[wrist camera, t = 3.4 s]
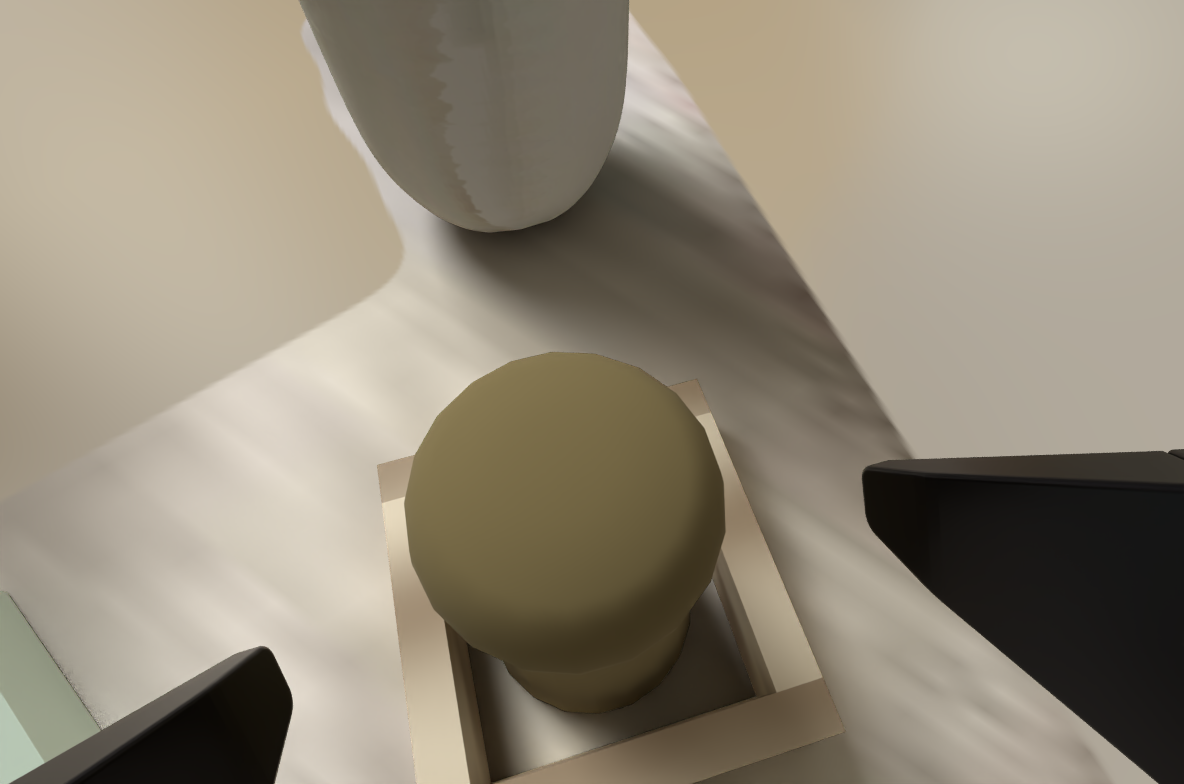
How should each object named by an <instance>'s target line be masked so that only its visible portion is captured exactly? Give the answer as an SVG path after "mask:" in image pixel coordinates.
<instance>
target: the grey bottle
mask: <svg viewBox="0 0 1184 784" xmlns="http://www.w3.org/2000/svg"><path fill="white" fill-rule="evenodd" d="M299 2H300V4H301V7H302V9H303V11H304V13H305V16H306V18H307V20H308V22H309V24H310V27H311V29H312V31H313V34H314V36H315V38H316V40H317V43H318V45H319V47H320V49H321V52H322V54H323V56H324V58H325V61H326V63H327V65H328V67H329V70H330V72H331V74H332V76H333V79H334V81H335V83H336V85H337V87H338V89H339V92H340V94H341V96H342V98H343V100H344V102H345V105H346V107H347V109H348V111H349V113H350V115H351V117H352V119H353V121H354V123H355V124H356V126H357V128H358V130H359V132H360V134H361V136H362V137H363V139H364V141H365V143H366V144H367V146H368V148H369V149H370V151H371V152H372V154H373V155H374V157H375V158H376V160H377V161H378V162H379V164H380V165H381V166H382V168H383V169H384V170H385V171H386V173H387V174H388V175H389V176H390V177H391V178H392V179H393V180H394V182H395V183H396V184H397V185H398V186H399V187H401V188H402V189H403V190H404V191H405V192H406V193H407V194H408V195H409V196H411V197H412V198H413V199H414V200H415V201H416V202H418V203H419V204H420V205H422V206H423V207H424V208H426V209H427V210H429V211H430V212H432V213H433V214H434V215H436V216H438V217H439V218H441V219H443V220H445V221H447V222H449V223H452V224H454V225H457V226H459V227H462V228H465V229H469V230H473V231H481V232H489V233H490V232H499V231H509V230H519V229H523V228H527V227H530V226H533V225H537V224H540V223H543V222H547V221H550V220H552V219H554V218H555V217H557V216H559V215H561V214H562V213H564V212H565V211H567V210H568V209H569V208H571V207H572V206H573V205H574V204H575V203H576V202H577V201H578V200H579V199H580V198H581V197H582V196H583V195H584V194H585V193H586V191H587V190H588V189H589V187H590V186H591V185H592V183H593V182H594V180H595V178H596V177H597V175H598V173H599V171H600V170H601V168H602V166H603V164H604V162H605V160H606V158H607V156H608V154H609V151H610V149H611V147H612V144H613V142H614V139H615V136H616V133H617V130H618V126H619V122H620V119H621V114H622V109H623V103H624V96H625V87H626V74H627V59H628V22H629V0H299Z"/></svg>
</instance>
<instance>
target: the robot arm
mask: <svg viewBox="0 0 1184 784" xmlns="http://www.w3.org/2000/svg"><path fill="white" fill-rule="evenodd" d="M862 484H863V495H864V505H865V514H866V519H867V522H868V524H869V526H870V528H871V529H872V531H873V532H874V534H875V535H876V536H877V537H878V538H879V539H880V540H881V541H882V542H883V543H884V544H885V545H886V546H887V547H888V548H889V549H890V550H891V551H892V552H893V553H894V555H895V556H896V557H897V558H898V559H899V560H900V561H901V562H902V563H903V564H904V565H905V566H906V567H907V568H908V569H909V570H910V571H911V572H912V573H913V574H914V575H915V576H916V577H917V579H918V580H919V581H920V582H921V583H922V584H923V585H924V586H925V587H926V588H927V589H928V590H930V591H931V592H932V593H933V594H934V595H935V596H936V597H937V598H938V599H939V600H940V601H942V602H943V603H944V604H945V605H946V606H947V607H949V608H950V609H951V610H952V611H953V612H954V613H956V614H957V615H958V616H959V617H960V618H962V619H963V620H964V621H965V622H966V623H968V624H969V625H970V626H971V627H972V628H974V629H975V630H976V631H977V632H978V633H980V634H981V635H982V636H983V637H984V638H985V639H987V640H988V641H989V642H990V643H991V644H993V645H994V646H995V647H996V648H997V649H999V650H1000V651H1001V652H1002V653H1003V654H1005V655H1006V656H1007V657H1008V658H1009V659H1011V660H1012V661H1013V662H1014V663H1015V664H1016V665H1018V666H1019V667H1020V668H1021V669H1022V670H1024V671H1025V672H1026V673H1027V674H1028V675H1030V676H1031V677H1032V678H1033V679H1034V680H1036V681H1037V682H1038V683H1039V684H1040V685H1042V686H1043V687H1044V688H1045V689H1046V690H1048V691H1049V692H1050V693H1051V694H1052V695H1053V696H1055V697H1056V698H1057V699H1058V700H1059V701H1061V702H1062V703H1063V704H1064V705H1065V706H1067V707H1068V708H1069V709H1070V710H1071V711H1073V712H1074V713H1075V714H1076V715H1077V716H1079V717H1080V718H1081V719H1082V720H1083V721H1085V722H1086V723H1087V724H1088V725H1089V726H1090V727H1092V728H1093V729H1094V730H1095V731H1097V732H1098V733H1099V734H1100V735H1101V736H1103V737H1104V738H1105V739H1106V740H1107V741H1108V742H1110V743H1111V744H1112V745H1113V746H1114V747H1116V748H1117V749H1118V750H1119V751H1120V752H1121V753H1123V754H1124V755H1125V756H1126V757H1127V758H1129V759H1130V760H1131V761H1132V762H1134V763H1135V764H1136V765H1137V766H1138V767H1139V768H1141V769H1142V770H1143V771H1144V772H1145V773H1146V774H1148V775H1149V776H1150V777H1151V778H1152V779H1154V780H1155V781H1156V782H1157V783H1158V784H1184V449H1178V450H1171V451H1169V452H1168V453H1166V452H1163V451H1151V452H1150V451H1148V452H1122V453H1121V452H1119V453H1090V454H1060V455H1033V456H1032V455H1030V456H1002V457H1001V456H1000V457H973V458H972V457H971V458H942V459H912V460H888V461H884V462H880V463H877V464H873V465H870V466H867V467H866V468H865V469H864V470H863V473H862ZM292 710H293V700H292V694H291V691H290V688H289V686H288V684H287V682H286V680H285V678H284V676H283V674H282V671H281V669H280V667H279V665H278V663H277V661H276V659H275V657H274V655H273V653H272V651H271V650H270V649H269V648H267V647H265V646H259V647H256V648H253V649H249V650H246V651H243V652H239V653H237V654H234V655H232V656H231V657H229V658H227V659H225V660H224V661H222V662H220V663H218V664H217V665H215V666H213V667H211V668H210V669H208V670H206V671H204V672H203V673H201V674H199V675H197V676H196V677H194V678H192V679H190V680H189V681H187V682H185V683H183V684H182V685H180V686H178V687H176V688H175V689H173V690H171V691H170V692H168V693H166V694H164V695H163V696H161V697H159V698H157V699H156V700H154V701H152V702H150V703H149V704H147V705H145V706H143V707H142V708H140V709H138V710H136V711H135V712H133V713H131V714H129V715H128V716H126V717H124V718H122V719H121V720H119V721H117V722H115V723H114V724H112V725H110V726H108V727H107V728H105V729H103V730H101V731H100V732H98V733H96V734H94V735H93V736H91V737H89V738H87V739H86V740H84V741H82V742H81V743H79V744H77V745H75V746H74V747H72V748H70V749H68V750H67V751H65V752H63V753H61V754H60V755H58V756H56V757H54V758H53V759H51V760H49V761H47V762H46V763H44V764H42V765H40V766H39V767H37V768H35V769H33V770H32V771H30V772H28V773H26V774H25V775H23V776H21V777H19V778H18V779H16V780H14V781H12V782H11V783H9V784H275V780H276V776H277V772H278V768H279V764H280V760H281V756H282V752H283V748H284V744H285V740H286V736H287V732H288V728H289V723H290V719H291V715H292Z"/></svg>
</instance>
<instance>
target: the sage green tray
mask: <svg viewBox="0 0 1184 784" xmlns="http://www.w3.org/2000/svg"><path fill="white" fill-rule="evenodd" d="M100 731H101V730H100V728H99V727H98V725H97V724H96V722H95V721H94V719H93V718H92V716H91V715H90V713H89V712H88V711H87V709H86V708H85V706H84V705H83V703H82V702H81V700H80V699H79V697H78V696H77V694H76V693H75V691H74V690H73V688H72V687H71V686H70V684H69V683H68V681H67V680H66V678H65V677H64V675H63V674H62V672H61V671H60V669H59V668H58V666H57V665H56V663H55V662H54V661H53V659H52V658H51V656H50V655H49V653H48V652H47V650H46V649H45V647H44V646H43V644H42V643H41V641H40V640H39V638H38V637H37V636H36V634H35V633H34V631H33V630H32V628H31V627H30V625H29V624H28V622H27V621H26V619H25V618H24V616H23V615H22V613H21V612H20V611H19V609H18V608H17V606H16V605H15V603H14V602H13V600H12V599H11V597H10V596H9V594H8V593H7V592H3V591H0V784H9V783H11V782H12V781H14V780H16V779H18V778H19V777H21V776H23V775H25V774H26V773H28V772H30V771H32V770H33V769H35V768H37V767H39V766H40V765H42V764H44V763H46V762H47V761H49V760H51V759H53V758H54V757H56V756H58V755H60V754H61V753H63V752H65V751H67V750H68V749H70V748H72V747H74V746H75V745H77V744H79V743H81V742H82V741H84V740H86V739H87V738H89V737H91V736H93V735H94V734H96V733H98V732H100Z"/></svg>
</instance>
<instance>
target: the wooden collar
mask: <svg viewBox="0 0 1184 784" xmlns="http://www.w3.org/2000/svg"><path fill="white" fill-rule="evenodd" d="M668 388H670V389H671V390H673V391H674V392H676V393H677V394H678V396H679V397H680V398H681V399H682V401H683V402H684V403H685V404H686V406H687V407H688V408H689V409H690V411H691V412H692V413H693V414H694V416H695V417H696V418H697V419H698V421H699V422H700V423H701V425H702V426H703V427H704V428H705V431H706V434H707V436H708V439H709V442H710V444H711V447H712V449H713V452H714V455H715V457H716V460H717V463H718V465H719V468H720V471H721V474H722V478H723V481H724V498H725V526H726V533H725V536H724V540H723V543H722V546H721V550H720V553H719V556H718V559H717V563H716V566H715V569H714V573H713V576H712V578H713V581H714V583H715V586H716V589H717V592H718V594H719V597H720V600H721V602H722V605H723V608H724V611H725V613H726V616H727V619H728V621H729V624H730V627H731V629H732V632H733V635H734V638H735V640H736V643H737V646H738V648H739V651H740V654H741V656H742V659H743V662H744V665H745V667H746V670H747V673H748V675H749V678H750V681H751V684H752V686H753V689H754V692H755V694H756V697H753V698H750V699H747V700H744V701H741V702H737V703H734V704H731V705H728V706H725V707H722V708H719V709H716V710H713V711H710V712H707V713H704V714H701V715H698V716H695V717H692V718H689V719H685V720H682V721H679V722H676V723H673V724H670V725H667V726H664V727H661V728H658V729H655V730H652V731H649V732H646V733H643V734H640V735H636V736H633V737H630V738H627V739H624V740H621V741H618V742H615V743H612V744H609V745H606V746H603V747H600V748H597V749H594V750H591V751H588V752H584V753H581V754H578V755H575V756H572V757H569V758H566V759H563V760H560V761H557V762H554V763H551V764H548V765H545V766H542V767H539V768H535V769H532V770H529V771H526V772H523V773H520V774H517V775H514V776H511V777H508V778H505V779H502V780H499V781H496V782H493V783H491V779H490V773H489V768H488V762H487V756H486V750H485V745H484V739H483V733H482V727H481V721H480V716H479V710H478V704H477V698H476V693H475V687H474V681H473V675H472V669H471V664H470V658H469V652H468V646H467V642H466V641H465V640H464V639H463V638H462V637H461V636H460V635H459V634H458V633H457V632H456V631H455V630H454V629H453V628H452V627H451V626H450V625H449V624H448V623H447V622H446V621H445V620H444V619H443V618H442V617H441V616H440V615H439V614H438V613H437V612H436V611H435V610H434V609H433V607H432V605H431V603H430V601H429V599H428V597H427V595H426V593H425V591H424V589H423V586H422V584H421V582H420V580H419V578H418V576H417V574H416V572H415V570H414V568H413V566H412V563H411V558H410V553H409V545H408V536H407V527H406V518H405V508H404V501H405V496H406V491H407V487H408V482H409V478H410V473H411V468H412V464H413V459H414V456H415V455H413V456H409V457H405V458H402V459H398V460H394V461H390V462H387V463H383V464H379V465H377V469H378V477H379V485H380V493H381V501H382V509H383V517H384V525H385V534H386V542H387V550H388V558H389V566H390V574H391V582H392V590H393V598H394V606H395V615H396V623H397V631H398V639H399V647H400V655H401V663H402V671H403V679H404V688H405V696H406V704H407V712H408V720H409V728H410V736H411V744H412V752H413V761H414V769H415V777H416V784H693V783H696V782H699V781H702V780H705V779H708V778H711V777H714V776H717V775H720V774H722V773H725V772H728V771H731V770H734V769H737V768H740V767H743V766H746V765H749V764H752V763H755V762H758V761H761V760H764V759H767V758H770V757H773V756H776V755H779V754H782V753H785V752H788V751H791V750H793V749H796V748H799V747H802V746H805V745H808V744H811V743H814V742H817V741H820V740H823V739H826V738H829V737H832V736H835V735H838V734H841V733H844V732H846V731H845V729H844V726H843V724H842V721H841V719H840V717H839V714H838V712H837V710H836V707H835V705H834V702H833V700H832V698H831V695H830V693H829V691H828V688H827V686H826V684H825V681H824V679H823V676H822V674H821V672H820V669H819V667H818V665H817V662H816V660H815V657H814V655H813V653H812V650H811V648H810V646H809V643H808V641H807V639H806V636H805V634H804V631H803V629H802V627H801V624H800V622H799V620H798V617H797V615H796V612H795V610H794V608H793V605H792V603H791V601H790V598H789V596H788V593H787V591H786V589H785V586H784V584H783V582H782V579H781V577H780V575H779V572H778V570H777V567H776V565H775V563H774V560H773V558H772V556H771V553H770V551H769V548H768V546H767V544H766V541H765V539H764V537H763V534H762V532H761V530H760V527H759V525H758V522H757V520H756V518H755V515H754V513H753V511H752V508H751V506H750V503H749V501H748V499H747V496H746V494H745V492H744V489H743V487H742V485H741V482H740V480H739V477H738V475H737V473H736V470H735V468H734V466H733V463H732V461H731V458H730V456H729V454H728V451H727V449H726V447H725V444H724V442H723V440H722V437H721V435H720V432H719V430H718V428H717V425H716V423H715V421H714V418H713V416H712V413H711V411H710V409H709V406H708V404H707V402H706V399H705V397H704V395H703V392H702V390H701V387H700V385H699V383H698V380H697V379H694V380H691V381H687V382H683V383H679V384H676V385H672V386H668Z"/></svg>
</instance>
